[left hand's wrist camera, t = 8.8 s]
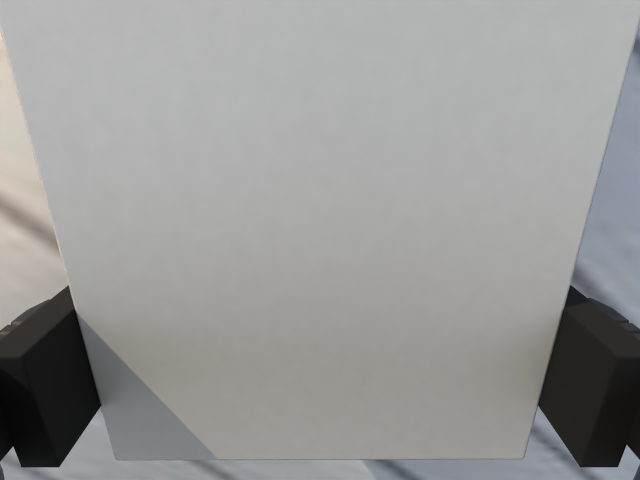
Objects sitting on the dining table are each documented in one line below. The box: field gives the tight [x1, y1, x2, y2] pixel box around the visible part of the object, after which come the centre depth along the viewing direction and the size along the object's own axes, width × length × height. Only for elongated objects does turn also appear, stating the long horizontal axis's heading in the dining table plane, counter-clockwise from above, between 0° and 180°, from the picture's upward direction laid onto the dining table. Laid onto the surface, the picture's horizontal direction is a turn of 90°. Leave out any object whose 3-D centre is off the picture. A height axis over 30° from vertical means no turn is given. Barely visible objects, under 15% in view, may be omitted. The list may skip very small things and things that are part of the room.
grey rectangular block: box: [0, 0, 640, 460], centre depth 11 cm, size 20×10×11 cm, turn 0°
